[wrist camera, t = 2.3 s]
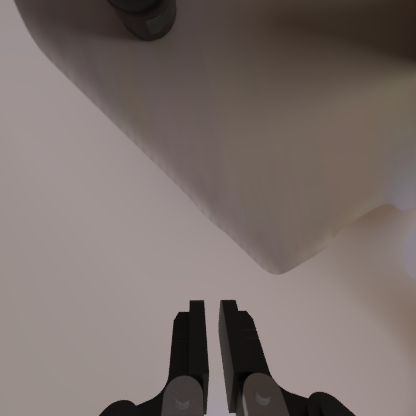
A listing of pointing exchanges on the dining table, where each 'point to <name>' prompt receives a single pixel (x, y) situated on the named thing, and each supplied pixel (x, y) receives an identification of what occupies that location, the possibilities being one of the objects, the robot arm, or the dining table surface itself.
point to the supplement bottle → (146, 16)
